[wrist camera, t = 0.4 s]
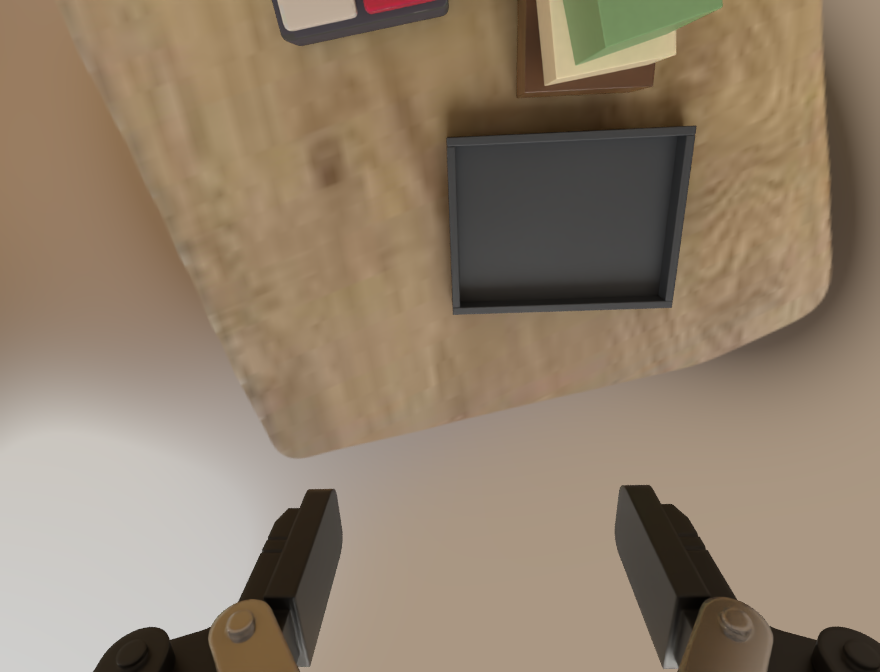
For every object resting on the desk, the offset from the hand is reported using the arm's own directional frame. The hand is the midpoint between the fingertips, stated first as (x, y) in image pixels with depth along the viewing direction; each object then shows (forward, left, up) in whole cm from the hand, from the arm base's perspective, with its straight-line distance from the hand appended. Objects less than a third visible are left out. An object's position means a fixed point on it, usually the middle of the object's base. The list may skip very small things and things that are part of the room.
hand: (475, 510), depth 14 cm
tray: (-3, +8, -28) cm, 30 cm away
